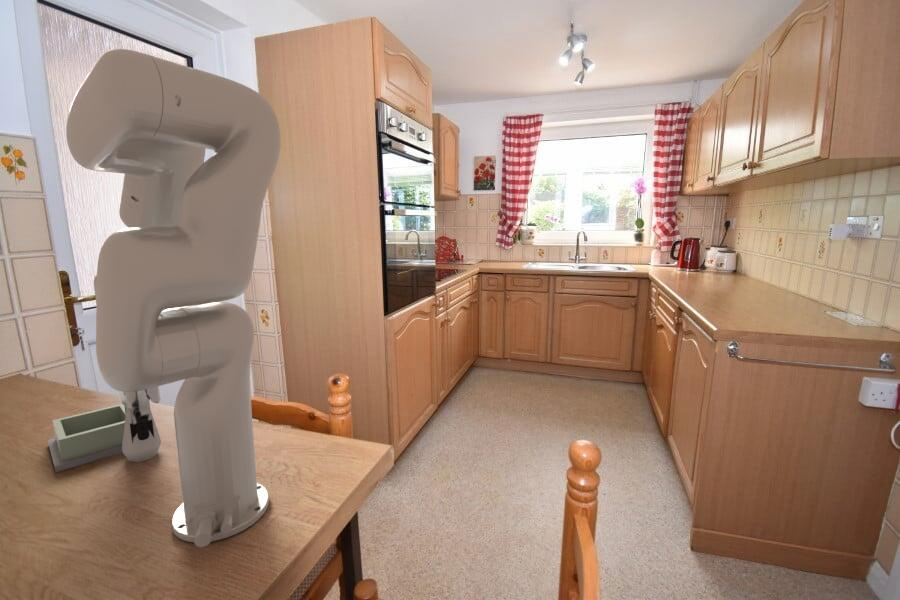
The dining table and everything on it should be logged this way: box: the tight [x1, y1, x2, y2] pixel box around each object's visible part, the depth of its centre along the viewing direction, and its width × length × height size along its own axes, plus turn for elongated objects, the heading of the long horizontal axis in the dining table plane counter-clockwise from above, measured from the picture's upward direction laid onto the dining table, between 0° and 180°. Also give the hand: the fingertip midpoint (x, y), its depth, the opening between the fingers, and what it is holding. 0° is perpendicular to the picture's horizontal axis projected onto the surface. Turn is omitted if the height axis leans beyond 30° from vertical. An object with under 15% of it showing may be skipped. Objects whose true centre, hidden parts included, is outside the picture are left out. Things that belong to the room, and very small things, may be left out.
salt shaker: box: [121, 398, 162, 463], centre depth 76 cm, size 6×6×13 cm
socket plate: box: [47, 403, 126, 473], centre depth 80 cm, size 13×13×5 cm
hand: (140, 437), depth 76 cm, fingers closed on salt shaker, 3 cm apart
